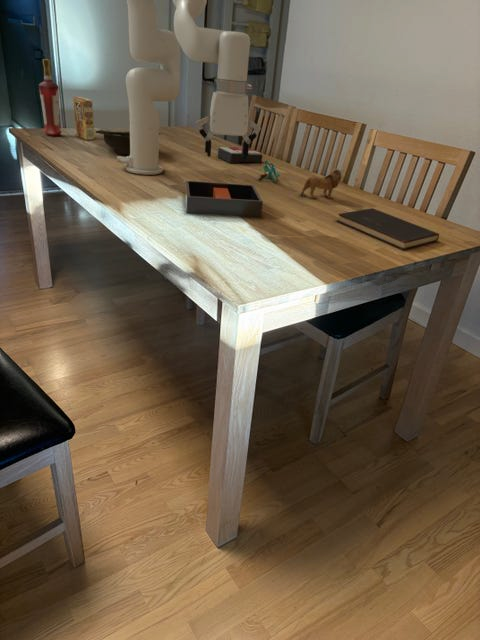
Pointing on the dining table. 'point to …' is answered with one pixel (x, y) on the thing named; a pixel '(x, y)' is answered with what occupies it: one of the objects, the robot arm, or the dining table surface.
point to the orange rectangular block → (221, 193)
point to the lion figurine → (323, 183)
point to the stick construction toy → (269, 172)
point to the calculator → (238, 155)
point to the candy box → (84, 118)
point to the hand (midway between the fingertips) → (226, 156)
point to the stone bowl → (117, 140)
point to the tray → (222, 199)
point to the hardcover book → (388, 228)
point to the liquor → (50, 102)
